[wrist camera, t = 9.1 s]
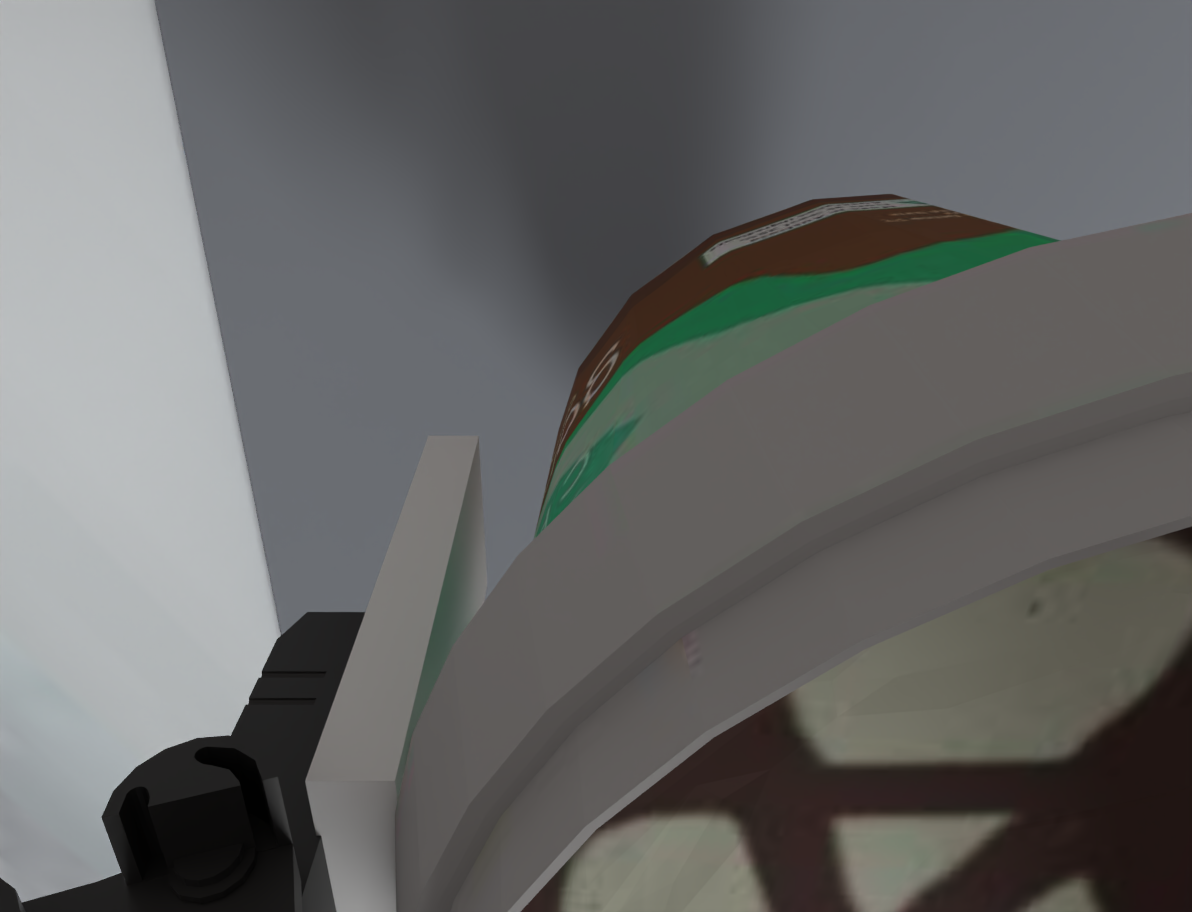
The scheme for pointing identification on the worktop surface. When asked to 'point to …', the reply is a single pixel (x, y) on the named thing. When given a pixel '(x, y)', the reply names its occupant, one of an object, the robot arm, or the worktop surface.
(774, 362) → the food container
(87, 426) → the worktop surface
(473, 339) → the mat
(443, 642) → the robot arm
